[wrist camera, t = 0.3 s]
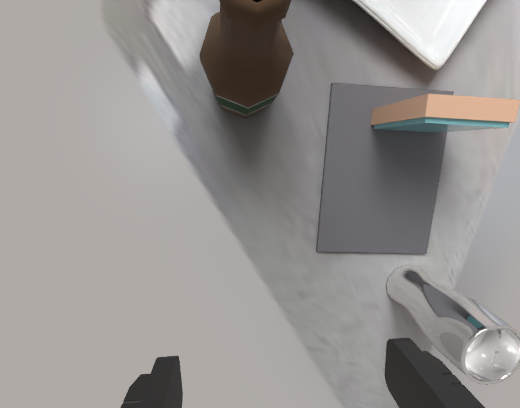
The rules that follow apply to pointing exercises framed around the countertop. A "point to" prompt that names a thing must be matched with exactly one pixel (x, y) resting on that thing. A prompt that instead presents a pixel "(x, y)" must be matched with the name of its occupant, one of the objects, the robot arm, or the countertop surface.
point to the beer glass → (458, 326)
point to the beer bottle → (247, 54)
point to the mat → (376, 176)
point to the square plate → (425, 24)
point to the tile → (445, 114)
